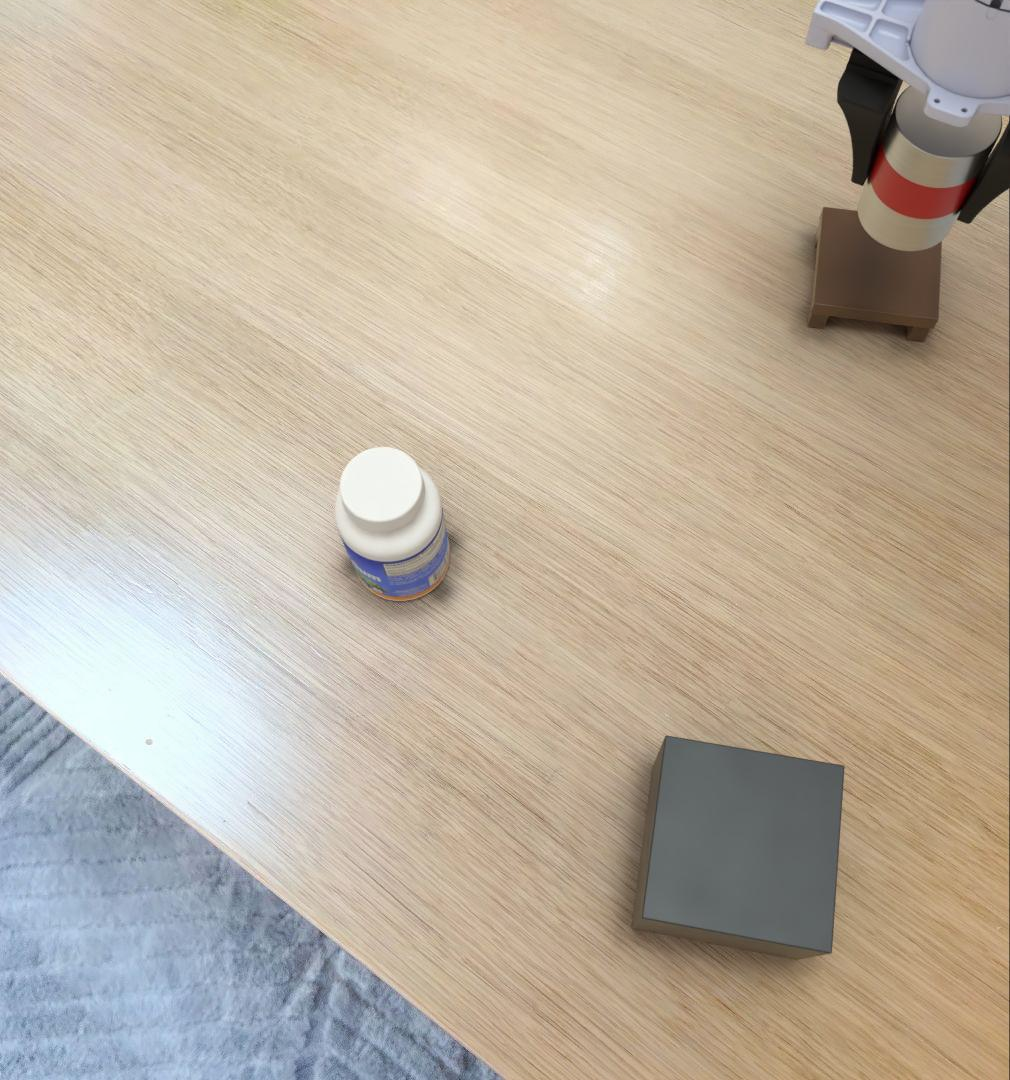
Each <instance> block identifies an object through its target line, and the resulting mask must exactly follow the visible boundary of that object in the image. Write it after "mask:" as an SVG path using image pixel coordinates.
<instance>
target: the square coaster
mask: <svg viewBox="0 0 1010 1080" xmlns="http://www.w3.org/2000/svg"><path fill="white" fill-rule="evenodd" d="M651 768H652V769H651V775H650V784H649V792H648V799H647V807H646V813H645V820H644V829H643V837H642V844H641V851H640V858H639V859H640V860H639V867H638V873H637V880H636V881H637V882H636V889H635V895H634V896H635V897H634V904H633V912H632V920H631V925H630V926H631V929H632V930H636V931H642V932H647V933H653V934H658V935H663V936H668V937H675V938H680V939H685V940H689V941H690V940H691V941H696V942H701V943H705V944H711V945H716V946H723V947H727V948H733V949H737V950H743V951H750V952H754V953H758V954H763V955H769V956H774V957H781V958H786V959H791V960H795V961H799V960H804V959H809V958H814V957H815V958H816V957H821V956H827V955H831V954H833V942H834V940H833V939H834V929H835V928H834V927H835V915H836V913H835V912H836V900H837V899H836V898H837V885H838V883H837V882H838V870H839V869H838V868H839V854H840V840H841V839H840V838H841V827H842V825H841V824H842V811H843V810H842V809H843V795H844V782H845V768H846V767H845V765H844V764H843V765H842V764H837V763H831V762H825V761H819V760H815V759H808V758H802V757H796V756H789V755H784V754H778V753H773V752H766V751H760V750H755V749H748V748H743V747H738V746H732V745H725V744H721V743H719V744H718V743H715V742H714V743H713V742H708V741H703V740H696V739H691V738H684V737H679V736H672V735H664V738H663V741H662V743H661V745H660V748H659V750H658V752H657V755H656V757H655V760H654V762H653V764H652V767H651Z"/></svg>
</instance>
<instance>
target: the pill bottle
mask: <svg viewBox="0 0 1010 1080" xmlns="http://www.w3.org/2000/svg"><path fill="white" fill-rule="evenodd" d="M333 518H334V522H335V526H336V529H337V532H338V534H339V537H340V539H341V541H342V544H343V547H344V548H345V551H346V553H347V555H348V557H349V558H348V559H349V560H350V562H351V564H352V567H353V569H354V571H355V575H357V577H358V579H359V580H360V582H361V583H362V585H363V586H364V587H365V588H366V589H367V590H368V591H369V592H370V593H372V594H374V595H375V596H377V597H379V598H382V599H385V600H389V601H393V602H405V601H413V600H417V599H420V598H422V597H424V596H426V595H428V594H429V593H431V592H432V591H433V590H435V589H436V588H437V587H438V586H439V585H440V584H441V582H442V581H443V580H444V578H445V576H446V574H447V572H448V570H449V566H450V563H451V545H450V541H449V535H448V532H447V525H446V521H445V514H444V509H443V502H442V498H441V494H440V491H439V488H438V485H437V484H436V482H435V481H434V479H433V478H432V477H431V476H430V474H429V473H428V472H427V471H426V470H425V469H423V468H422V467H421V466H419V464H418V463H417V462H416V460H414V459H413V457H411V456H410V455H409V454H408V453H407V452H405V451H403V450H400V449H398V448H395V447H390V446H376V447H372V448H371V447H370V448H368V449H365V450H363V451H361V452H359V453H358V454H356V455H355V456H354V457H352V458H351V459H350V461H349V462H347V464H346V465H345V466H344V468H343V471H342V473H341V475H340V479H339V488H338V490H337V493H336V496H335V499H334V504H333Z"/></svg>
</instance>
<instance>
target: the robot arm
mask: <svg viewBox="0 0 1010 1080" xmlns="http://www.w3.org/2000/svg"><path fill="white" fill-rule="evenodd" d="M805 37H806V38H805V41H804V44H805V45H806V46H808V47H811V48H815V49H817V50H821V51H826V50H828V49H829V48H830V46H831V44H832V43H833V44H836V45H839V46H842V47H845V48H848V49H852V50H851V52H850V55H849V59H848V61H847V63H846V66H845V69H844V71H843V72H842V75H841V76H840V78H839V81H838V83H837V89H836V92H837V93H836V103H837V104H838V106H839V107H840V110H841V111H842V114H843V115H844V119H845V121H846V123H847V127H848V131H849V136H850V141H851V151H852V171H851V177H850V181H851V183H853V184H856V185H859V186H862V187H864V185H865V182H866V180H867V177H868V175H869V172H870V169H871V166H872V163H873V160H874V158H875V155H876V152H877V150H878V147H879V144H880V142H881V139H882V137H883V134H884V131H885V129H886V127H887V125H888V122H889V119H890V117H891V114H892V111H893V109H894V106H895V104H896V101H897V99H898V95H899V92H900V90H901V88H902V85H903V83H905V84H907V85H908V86H912V87H913V88H914V89H916V90H917V91H919V92H920V93H922V94H923V95H925V96H926V102H925V104H924V107H923V111H924V113H925V115H927V116H928V117H930V118H932V119H935V120H938V121H941V122H944V123H947V124H950V125H952V126H955V127H965V126H967V125H968V124H969V123H970V122H971V120H972V118H973V116H974V115H975V114H988V115H1001V116H1004V117H1010V0H818V2H817V3H816V5H815V7H814V9H813V11H812V14H811V19H810V22H809V26H808V29H807V34H806V36H805ZM1009 189H1010V120H1009V121H1008V123H1007V124H1006V126H1005V128H1004V131H1003V132H1002V135H1001V136H1000V138H999V140H998V142H996V144H995V145H994V147H993V149H992V151H991V153H990V155H989V157H988V159H987V161H986V163H985V166H984V168H983V170H982V172H981V173H980V175H979V177H978V179H977V181H976V183H975V185H974V187H973V189H972V191H971V193H970V194H969V196H968V198H967V200H966V202H965V203H964V205H963V207H962V209H961V211H960V213H959V215H958V217H957V219H956V221H958V222H961V223H964V224H967V225H969V224H971V223H972V222H973V221H974V220H975V218H976V217H977V216H978V215H979V214H980V213H981V212H982V211H983V210H984V209H985V208H986V207H988V205H990V204H991V203H992V202H993V201H995V199H997V198H998V197H999V196H1000V195H1002V194H1003V193H1005V192H1006V191H1008V190H1009Z"/></svg>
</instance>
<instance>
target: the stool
mask: <svg viewBox="0 0 1010 1080" xmlns="http://www.w3.org/2000/svg"><path fill="white" fill-rule="evenodd" d="M814 247H815V248H816V250H815V251H816V252H815V262H814V274H813V283H812V285H813V286H812V293H811V294H812V296H811V303H810V304H811V305H810V308H809V310H808V312H807V313H808V314H807V322H806V323H807V324H806V325H807V327H809V328H816V329H825V327H826V324H827V321H828V319H829V317H835V318H842V319H843V318H844V319H852V320H859V321H867V322H874V323H883V324H889V325H898V326H905V327H906V340H907V341H915V342H921V343H922V342H923V343H924V342H925V340H926V338H927V337H928V335H929V334H930V331H931V330H933V329H935V327H936V325H937V323H938V322H939V319H940V299H941V297H940V295H941V274H942V251H943V240H942V241H941V242H940V243H938V244H937V245H935V246H933V247H931V248H928V249H925V250H920V251H901V250H896V249H892V248H889V247H887V246H884V245H882V244H881V243H879V242H877V241H876V240H875V239H873V238H872V237H871V236H870V235H869V234H868V233H867V232H866V231H865V229H864V228H863V226H862V224H861V222H860V220H859V216H858V210H855V209H847V208H838V207H830V206H823V207H822V209H821V213H820V216H819V220H818V227H817V229H816V233H815V240H814Z"/></svg>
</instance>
